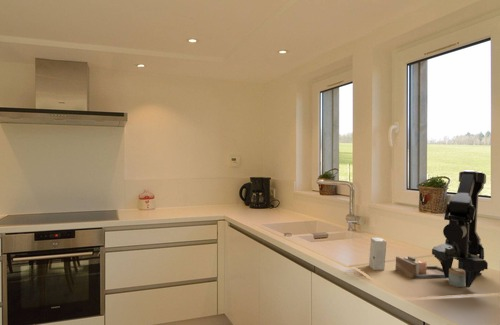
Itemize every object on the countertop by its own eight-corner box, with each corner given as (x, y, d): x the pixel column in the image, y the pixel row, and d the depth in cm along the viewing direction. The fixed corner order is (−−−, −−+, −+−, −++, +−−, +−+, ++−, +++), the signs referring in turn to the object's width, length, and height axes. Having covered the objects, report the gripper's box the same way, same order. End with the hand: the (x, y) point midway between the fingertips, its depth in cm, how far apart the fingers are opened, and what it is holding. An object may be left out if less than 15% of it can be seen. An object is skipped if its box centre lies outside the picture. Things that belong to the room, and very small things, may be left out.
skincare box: (368, 267, 140) (369, 237, 140) (379, 268, 140) (380, 237, 140) (373, 272, 134) (375, 240, 134) (385, 273, 134) (386, 241, 134)
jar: (420, 271, 135) (420, 259, 135) (429, 275, 130) (429, 263, 130) (408, 271, 134) (408, 259, 134) (417, 275, 129) (417, 263, 129)
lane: (436, 270, 139) (436, 255, 139) (455, 279, 129) (456, 263, 129) (395, 272, 136) (396, 256, 135) (412, 281, 126) (413, 264, 126)
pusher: (405, 270, 135) (406, 254, 135) (418, 276, 128) (419, 260, 128) (403, 270, 135) (404, 254, 135) (416, 276, 128) (416, 260, 127)
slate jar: (457, 284, 124) (458, 267, 124) (468, 289, 119) (469, 272, 119) (444, 285, 123) (445, 267, 123) (456, 290, 118) (456, 272, 118)
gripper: (419, 231, 129) (418, 274, 129) (460, 243, 110) (457, 293, 111) (446, 231, 131) (444, 273, 131) (490, 243, 113) (487, 292, 113)
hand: (456, 282), depth 121 cm, fingers open, 9 cm apart
